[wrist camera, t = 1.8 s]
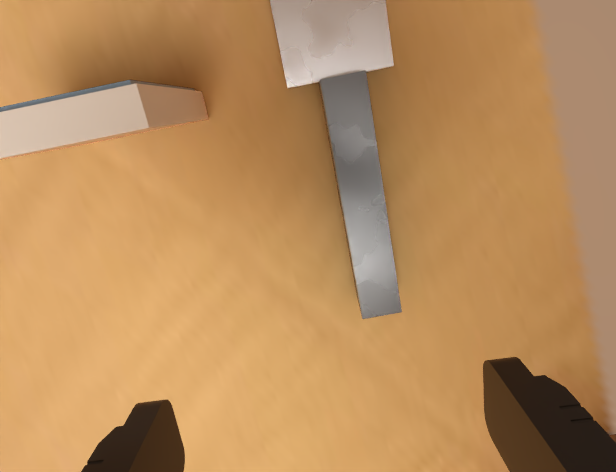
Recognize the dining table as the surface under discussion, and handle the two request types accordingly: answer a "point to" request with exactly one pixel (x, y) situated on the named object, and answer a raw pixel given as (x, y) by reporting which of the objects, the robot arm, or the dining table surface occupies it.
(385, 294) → the turner
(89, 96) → the tile
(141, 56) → the dining table surface
